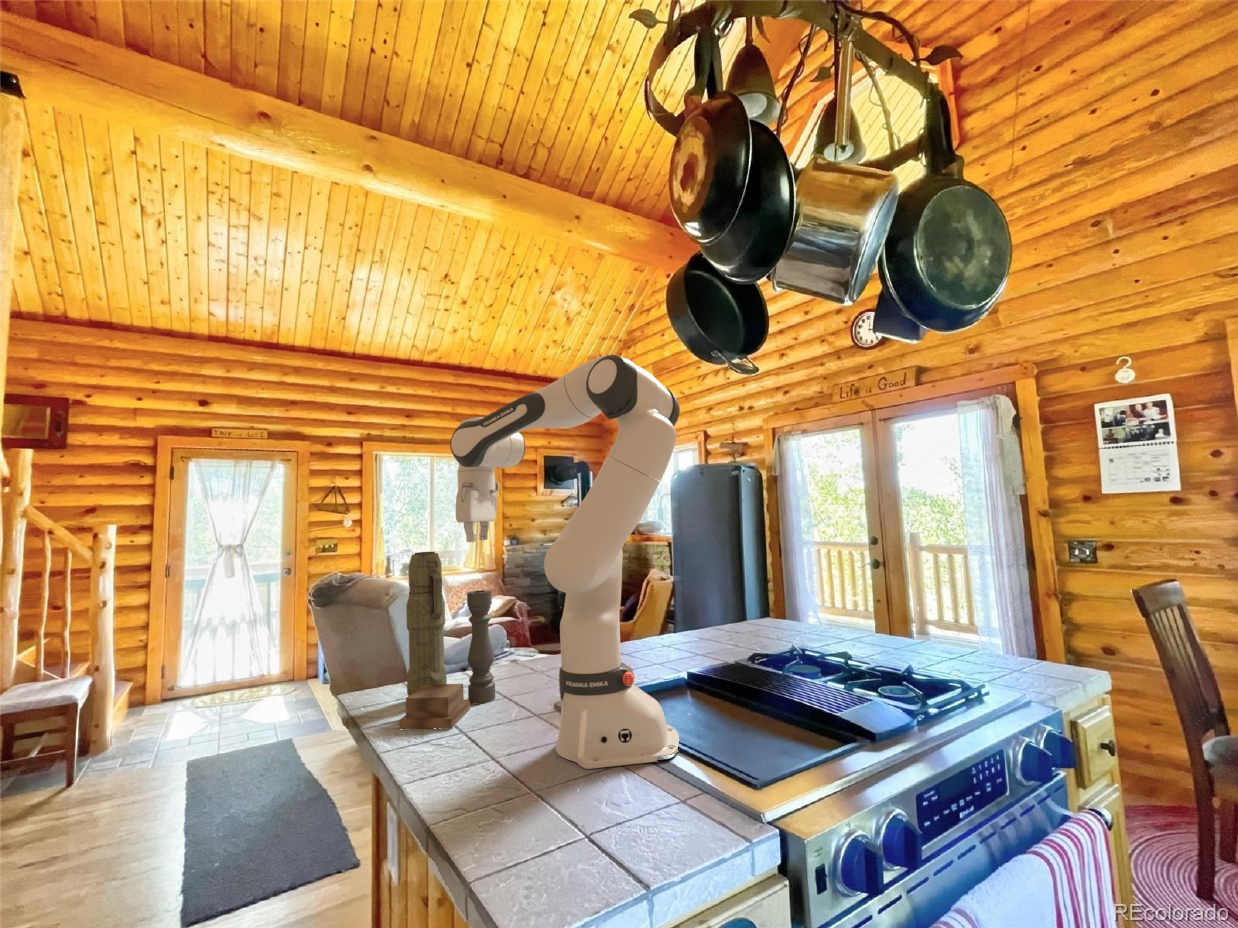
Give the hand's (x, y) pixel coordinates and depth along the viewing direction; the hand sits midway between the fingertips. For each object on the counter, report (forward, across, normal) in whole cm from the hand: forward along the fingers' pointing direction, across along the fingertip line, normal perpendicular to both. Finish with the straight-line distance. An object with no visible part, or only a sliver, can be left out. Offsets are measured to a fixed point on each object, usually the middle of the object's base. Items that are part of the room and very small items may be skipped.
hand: (477, 541), depth 133 cm
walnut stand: (+37, -12, +6) cm, 40 cm away
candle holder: (+37, 0, 0) cm, 37 cm away
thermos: (+37, 0, +13) cm, 39 cm away
